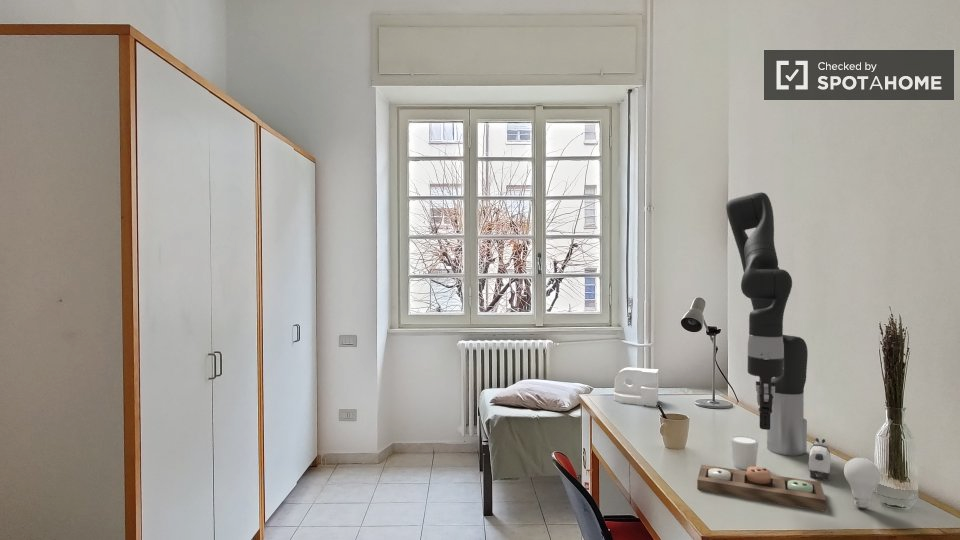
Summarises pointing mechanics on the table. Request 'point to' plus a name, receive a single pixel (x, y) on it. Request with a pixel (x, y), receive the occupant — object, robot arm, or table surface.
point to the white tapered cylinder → (743, 451)
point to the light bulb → (862, 480)
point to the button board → (763, 489)
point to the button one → (719, 474)
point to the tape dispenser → (637, 386)
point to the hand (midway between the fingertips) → (764, 428)
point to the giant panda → (819, 459)
